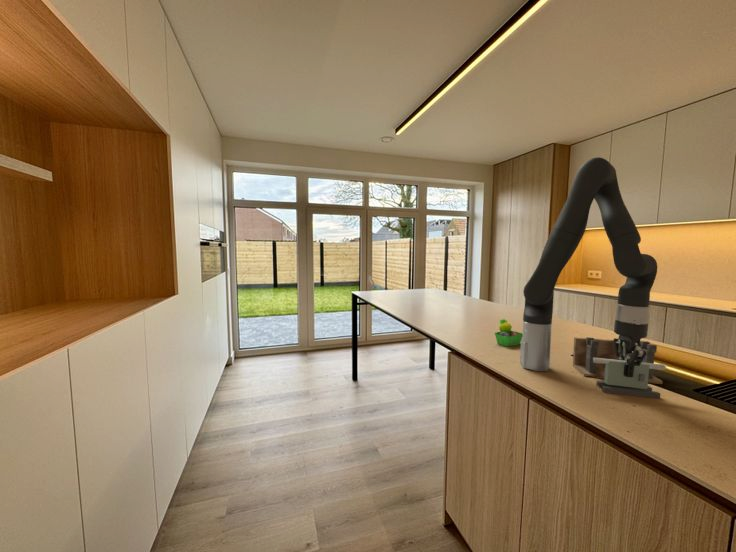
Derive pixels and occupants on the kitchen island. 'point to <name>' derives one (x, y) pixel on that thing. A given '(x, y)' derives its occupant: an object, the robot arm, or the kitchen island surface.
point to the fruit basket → (507, 334)
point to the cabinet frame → (605, 356)
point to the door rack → (628, 390)
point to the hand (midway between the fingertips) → (626, 374)
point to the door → (616, 373)
